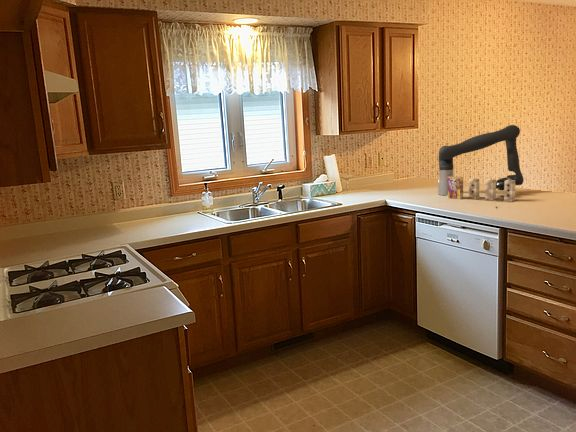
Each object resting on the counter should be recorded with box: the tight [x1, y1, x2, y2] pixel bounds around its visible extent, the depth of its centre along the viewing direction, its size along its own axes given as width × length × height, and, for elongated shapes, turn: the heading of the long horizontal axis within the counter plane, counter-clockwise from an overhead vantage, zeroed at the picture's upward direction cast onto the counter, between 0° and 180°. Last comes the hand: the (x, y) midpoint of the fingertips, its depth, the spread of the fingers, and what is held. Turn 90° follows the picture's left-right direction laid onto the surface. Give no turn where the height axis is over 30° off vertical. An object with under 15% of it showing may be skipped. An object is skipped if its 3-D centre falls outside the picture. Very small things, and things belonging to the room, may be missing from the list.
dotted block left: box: [468, 177, 480, 199], centre depth 310 cm, size 4×5×12 cm
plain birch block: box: [484, 178, 497, 200], centre depth 301 cm, size 4×4×12 cm
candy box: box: [447, 175, 464, 200], centre depth 314 cm, size 9×4×15 cm, turn 39°
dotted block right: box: [503, 180, 516, 201], centre depth 294 cm, size 4×5×12 cm
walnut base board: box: [464, 196, 519, 203], centre depth 303 cm, size 30×10×2 cm, turn 44°
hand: (492, 187), depth 303 cm, fingers closed
